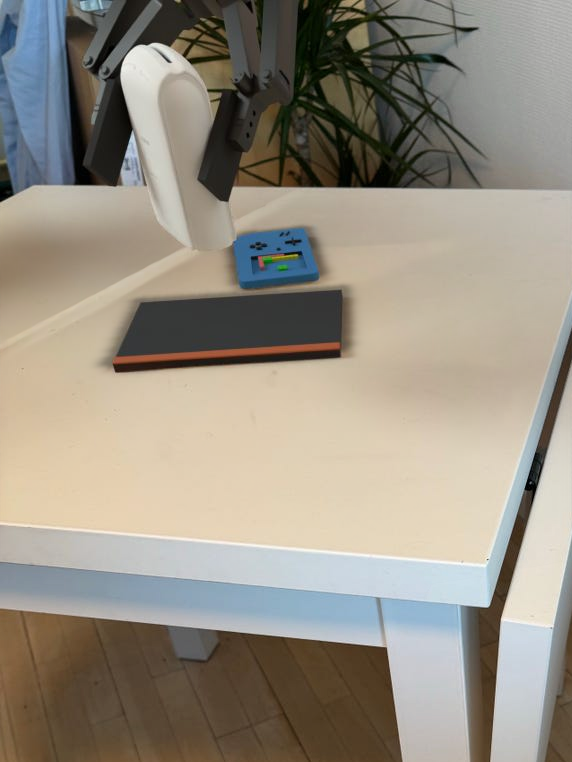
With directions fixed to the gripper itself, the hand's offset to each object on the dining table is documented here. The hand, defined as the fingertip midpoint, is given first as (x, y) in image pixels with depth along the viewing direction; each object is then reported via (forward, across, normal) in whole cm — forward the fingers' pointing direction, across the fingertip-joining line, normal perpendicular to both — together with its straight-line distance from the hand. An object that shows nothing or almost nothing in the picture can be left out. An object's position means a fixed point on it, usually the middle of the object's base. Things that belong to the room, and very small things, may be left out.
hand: (154, 183), depth 65 cm
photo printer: (+1, 0, -5) cm, 6 cm away
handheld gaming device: (-8, +13, -32) cm, 36 cm away
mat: (+4, +6, -20) cm, 21 cm away
